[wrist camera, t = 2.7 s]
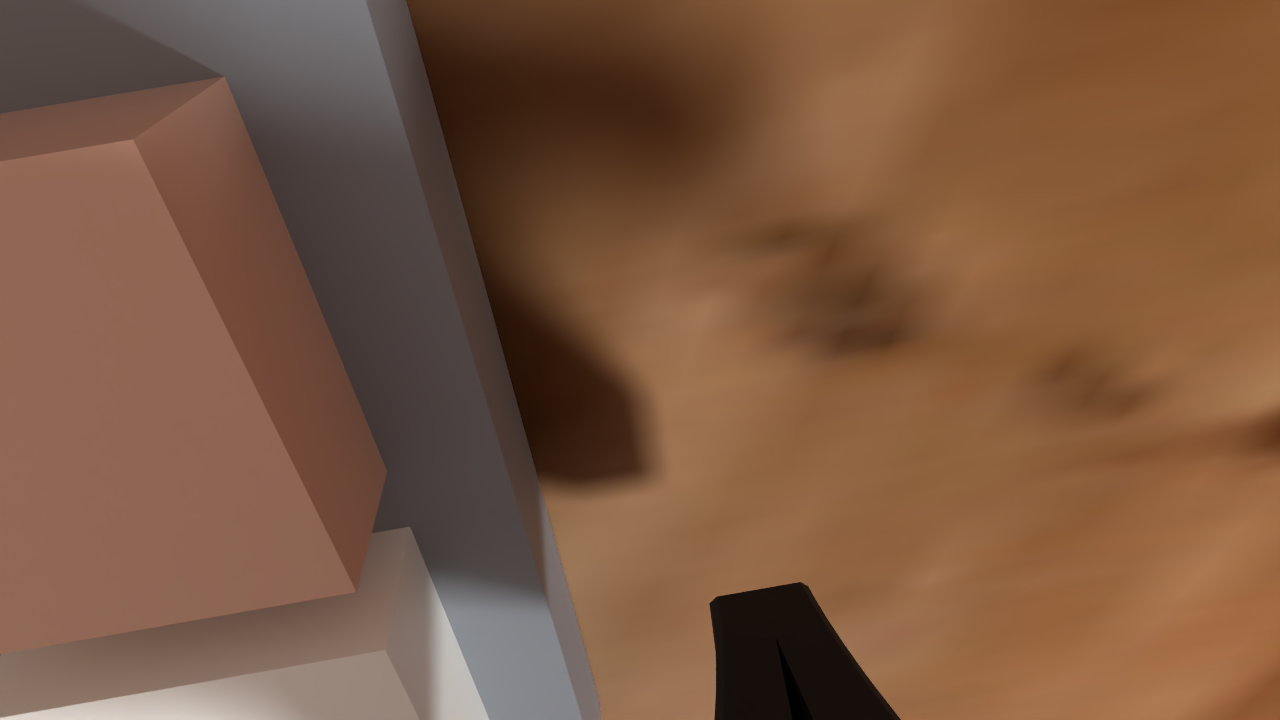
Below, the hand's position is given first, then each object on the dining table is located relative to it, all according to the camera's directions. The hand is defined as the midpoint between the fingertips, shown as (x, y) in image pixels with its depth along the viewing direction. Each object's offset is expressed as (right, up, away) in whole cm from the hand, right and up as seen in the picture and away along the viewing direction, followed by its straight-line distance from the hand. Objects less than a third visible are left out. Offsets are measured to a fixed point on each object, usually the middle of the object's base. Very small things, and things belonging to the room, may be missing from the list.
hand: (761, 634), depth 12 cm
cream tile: (-7, -1, +1) cm, 7 cm away
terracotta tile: (-8, +4, -3) cm, 9 cm away
